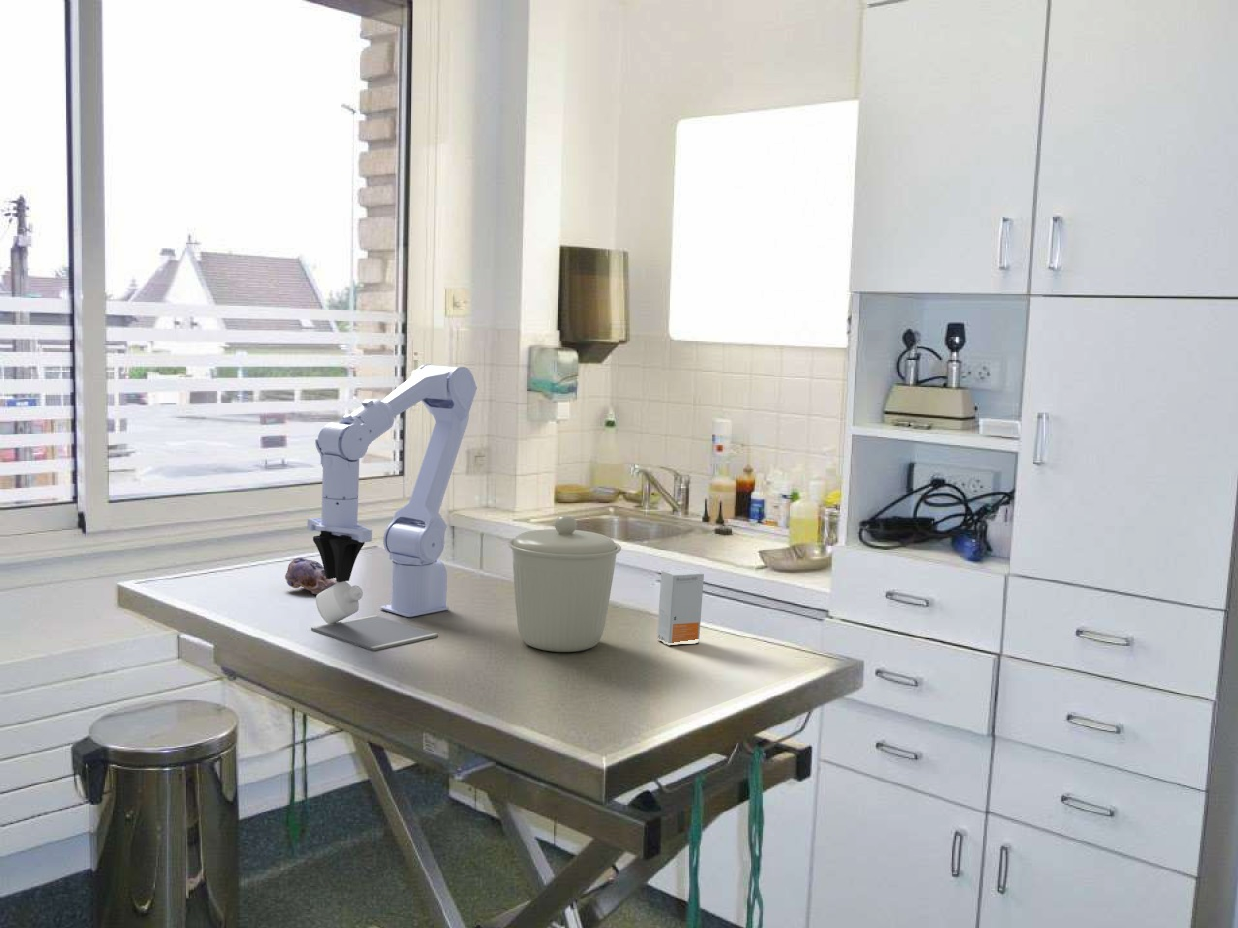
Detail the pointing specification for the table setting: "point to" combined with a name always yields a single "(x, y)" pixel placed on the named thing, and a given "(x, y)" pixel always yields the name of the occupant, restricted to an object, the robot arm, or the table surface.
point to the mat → (374, 632)
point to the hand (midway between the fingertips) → (337, 579)
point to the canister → (562, 585)
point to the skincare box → (680, 605)
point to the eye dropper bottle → (338, 602)
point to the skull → (308, 576)
